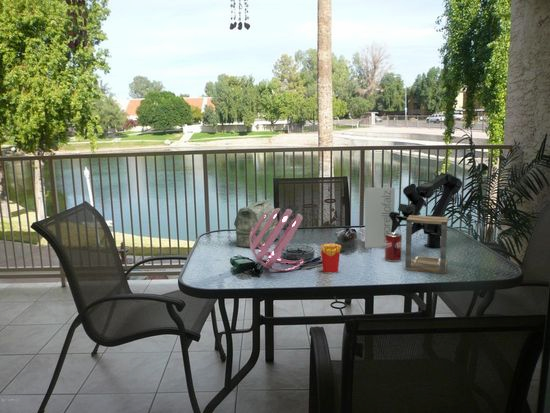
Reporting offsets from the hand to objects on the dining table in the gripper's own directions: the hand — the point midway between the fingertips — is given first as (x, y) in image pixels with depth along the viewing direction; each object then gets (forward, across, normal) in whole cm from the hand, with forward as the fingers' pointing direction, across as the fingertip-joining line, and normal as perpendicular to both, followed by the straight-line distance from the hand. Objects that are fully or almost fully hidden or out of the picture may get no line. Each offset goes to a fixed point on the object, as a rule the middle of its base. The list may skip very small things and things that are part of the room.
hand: (399, 234), depth 210 cm
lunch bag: (+31, -69, -14) cm, 77 cm away
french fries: (+34, -8, -18) cm, 40 cm away
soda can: (+11, 0, +5) cm, 12 cm away
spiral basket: (+44, -28, -27) cm, 59 cm away
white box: (+2, -19, +14) cm, 23 cm away
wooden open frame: (+9, +16, +7) cm, 20 cm away
